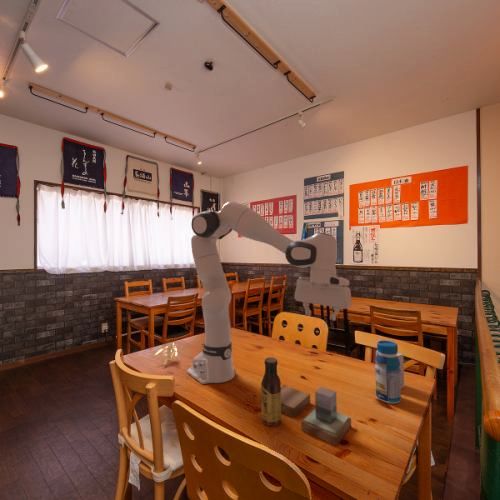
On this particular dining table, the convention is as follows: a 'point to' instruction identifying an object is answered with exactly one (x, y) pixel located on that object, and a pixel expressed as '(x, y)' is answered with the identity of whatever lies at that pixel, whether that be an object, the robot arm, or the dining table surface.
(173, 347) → the shrimp
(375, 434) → the dining table surface
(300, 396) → the stand left
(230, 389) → the dining table surface
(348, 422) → the stand right
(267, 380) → the sauce bottle
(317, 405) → the housing
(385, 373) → the beverage bottle
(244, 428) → the dining table surface
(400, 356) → the small box
